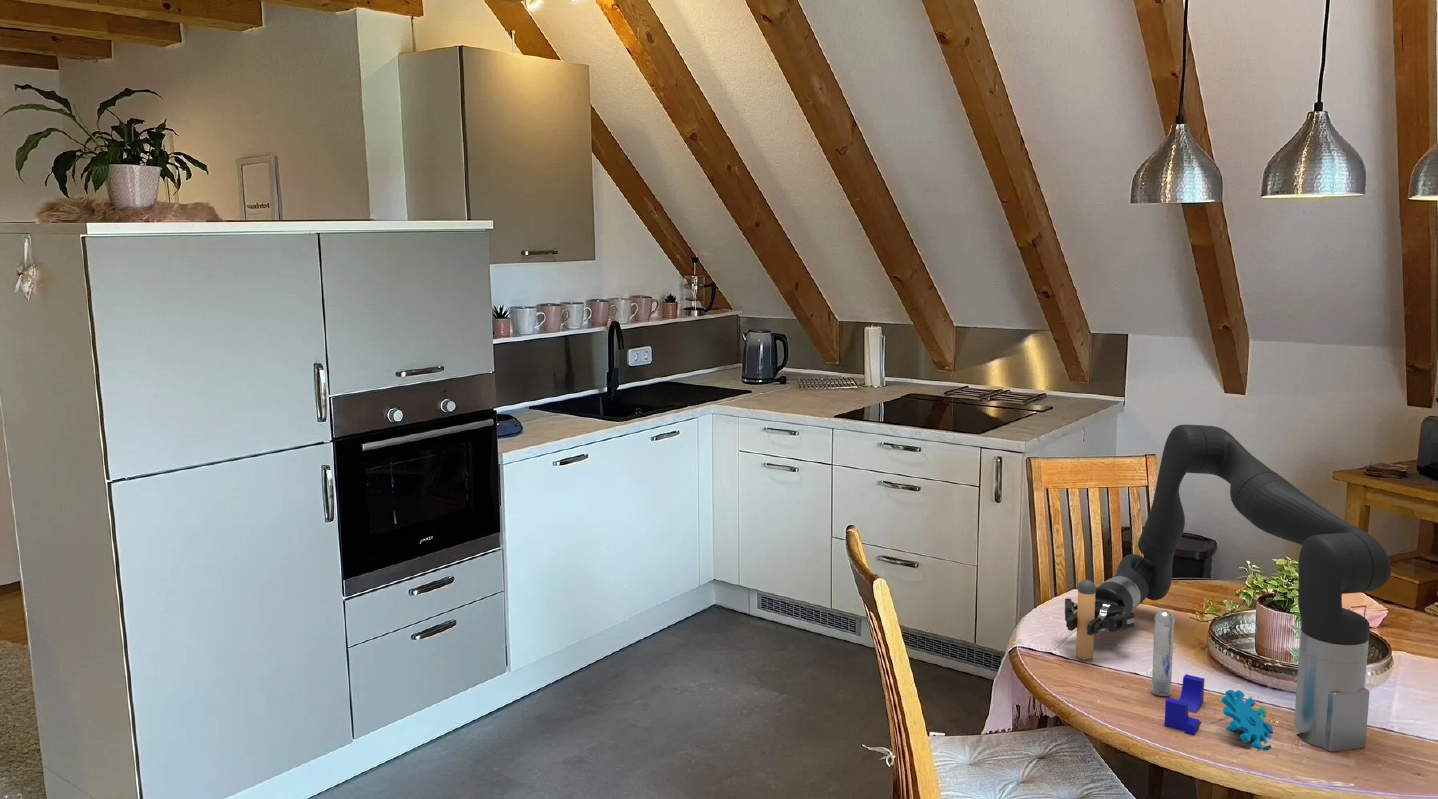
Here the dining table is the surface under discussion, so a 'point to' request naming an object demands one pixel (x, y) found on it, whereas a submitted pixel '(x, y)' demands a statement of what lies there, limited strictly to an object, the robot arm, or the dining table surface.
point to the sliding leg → (1085, 619)
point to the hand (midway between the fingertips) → (1079, 627)
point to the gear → (1247, 718)
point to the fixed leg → (1163, 653)
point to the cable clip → (1185, 705)
